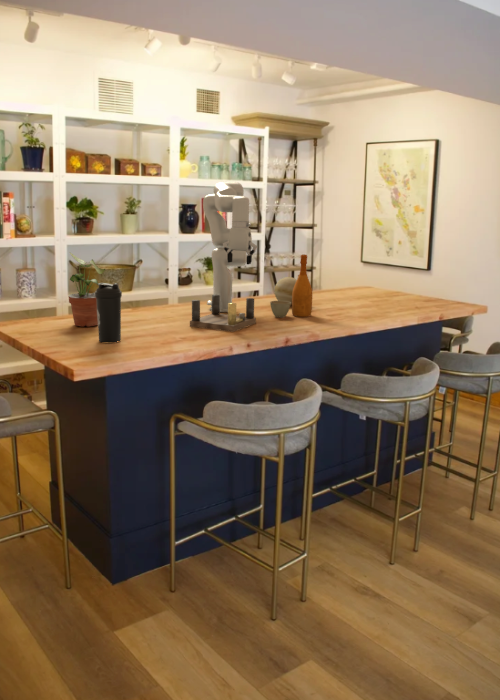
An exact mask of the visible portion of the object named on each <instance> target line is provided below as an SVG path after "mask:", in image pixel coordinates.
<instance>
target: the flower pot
mask: <svg viewBox="0 0 500 700" xmlns="http://www.w3.org/2000/svg"><path fill="white" fill-rule="evenodd" d="M291 306H292V305H291V302H288V301H278V300H272V301H270V309H271V312H272V314H273V316H274V317H275V318H286V316H287V315H288V313H289V311H290V308H291Z"/></svg>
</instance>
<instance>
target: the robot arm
mask: <svg viewBox="0 0 500 700" xmlns="http://www.w3.org/2000/svg"><path fill="white" fill-rule="evenodd" d="M244 193H245V191H244V187H243V185H242V184H241V183H240V182H236V181H235V182H231V181H225V182H224V181H223V182H222V181H221V182H217V183H216V184H215V185H214V187H213V193H211V194H207V195H205V196H204V198H203V200H202V206H203V213H204V215H205V218H206V220H207V222H208V226H209V230H210V237H211V241H212V245H213V246H214V247H215V248H214V249H213V250H212V252H211V260H212V261H211V263H212V271H213V273H212V277H213V278H212V279H213V282H212V289H213V291H212V292H213V294H212V295H220V313H228V303H233V275H232V273H231V271H230V270H229V268H231V267H243V266H245V265H251V264H252V260H253V258H252V257H253V254H255V253H256V250H257V249H258V245H257V244H255V243H253V240H252V239H253V238H252V237H253V236H252V230H251V228H249V227H251V226H252V223H251V222H250V199H249V197H247V196H244ZM219 212H220V213H219ZM221 213H232V214H231V215H232V216H231V227H230V228H229V227H228V226H227V221H226V219H225V218H224V216H223V215H222V214H221ZM206 305H208V306H210V307H209V310H210V311H211V312H212V300H207V302H206Z"/></svg>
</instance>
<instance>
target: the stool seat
mask: <svg viewBox="0 0 500 700" xmlns="http://www.w3.org/2000/svg"><path fill="white" fill-rule="evenodd" d="M245 300H246V301H245V302H246V305H245V306H246V307H245V309H246V310H245V320H244V321H241V322H238V323H236V324H235V325H229V324H228V314H224V313H221V312H220V295H213V294H211V301H212V311H211V313H210V314H207V315H204V316H201V300H199V299H192V300H191V319H190V320H189V327H194V328H200V329H207V330H208V329H210V330H216V331H225V332H231V333H232V332H237V331H239V330H241V329H244V328H247V327H249V326H252V325H254V324H255V325H256V321H257V318H256V317H255V298H252V297H247V298H246V299H245ZM238 318H239V315H236V319H238Z"/></svg>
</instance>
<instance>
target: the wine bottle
mask: <svg viewBox="0 0 500 700" xmlns="http://www.w3.org/2000/svg"><path fill="white" fill-rule="evenodd" d="M299 264H300V270H299V274H298V275H297V279H296V280H297V281H296V283H295V286H294V288H293V293H292V305H291V314H292V316H294V317H298V318H309V317H310V316H311V315H312V312H313V311H312V310H313V288H312V285H311V282H310V280H309V277H308V272H307V264H308V254H305V253H304V254H300V261H299Z"/></svg>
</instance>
